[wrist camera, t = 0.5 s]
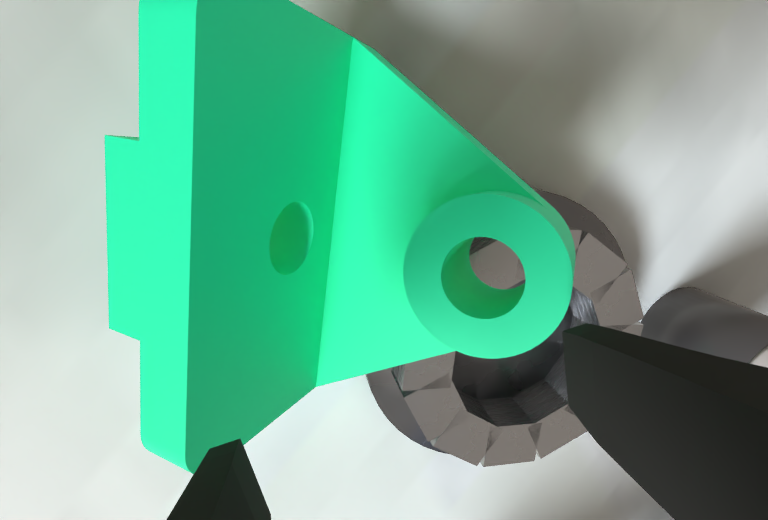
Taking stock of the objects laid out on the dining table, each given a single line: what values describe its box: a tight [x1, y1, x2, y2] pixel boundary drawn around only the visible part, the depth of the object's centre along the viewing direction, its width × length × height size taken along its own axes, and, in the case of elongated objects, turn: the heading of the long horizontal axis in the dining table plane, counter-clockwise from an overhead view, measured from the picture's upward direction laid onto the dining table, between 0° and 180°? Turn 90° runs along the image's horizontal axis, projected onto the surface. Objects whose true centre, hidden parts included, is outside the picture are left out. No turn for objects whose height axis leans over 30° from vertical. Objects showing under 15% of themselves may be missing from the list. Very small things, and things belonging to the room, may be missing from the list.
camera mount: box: [105, 0, 576, 474], centre depth 12 cm, size 12×8×10 cm
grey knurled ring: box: [366, 189, 644, 467], centre depth 20 cm, size 13×13×3 cm
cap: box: [641, 287, 768, 368], centre depth 22 cm, size 5×5×5 cm
